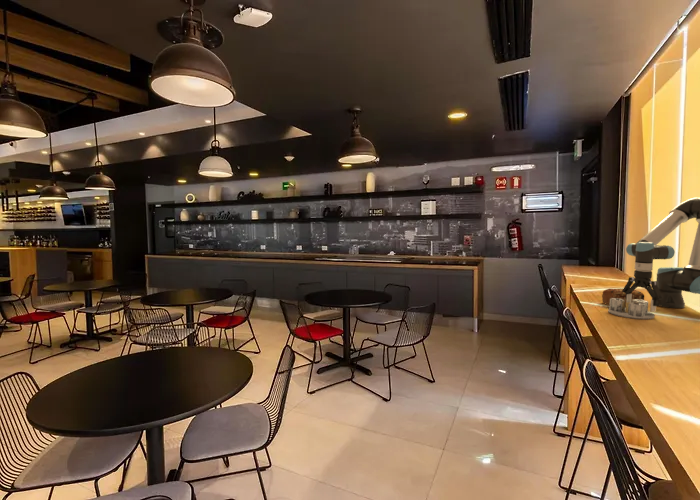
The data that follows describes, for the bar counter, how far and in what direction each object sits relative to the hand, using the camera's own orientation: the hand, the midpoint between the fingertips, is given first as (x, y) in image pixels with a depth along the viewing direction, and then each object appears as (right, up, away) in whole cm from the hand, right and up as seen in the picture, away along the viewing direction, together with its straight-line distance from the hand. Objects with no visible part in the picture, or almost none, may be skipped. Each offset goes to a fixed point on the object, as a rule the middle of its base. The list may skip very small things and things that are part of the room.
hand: (640, 308), depth 198 cm
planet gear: (0, -2, 0) cm, 2 cm away
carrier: (-6, -3, -1) cm, 7 cm away
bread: (+5, -1, +20) cm, 21 cm away
